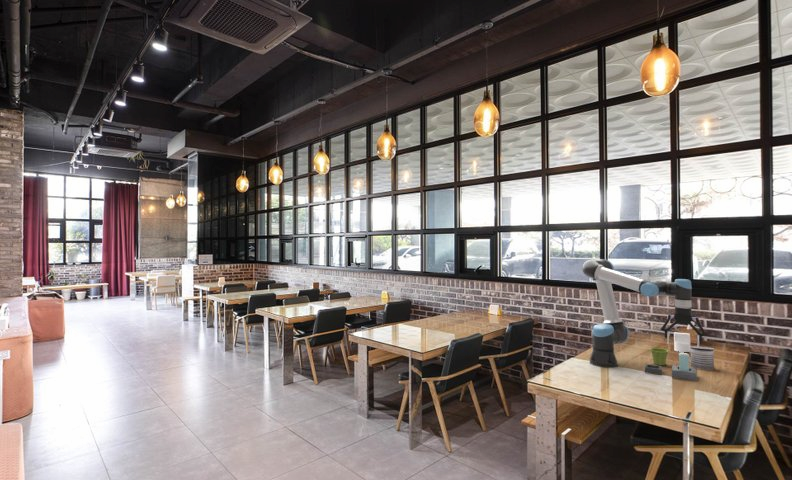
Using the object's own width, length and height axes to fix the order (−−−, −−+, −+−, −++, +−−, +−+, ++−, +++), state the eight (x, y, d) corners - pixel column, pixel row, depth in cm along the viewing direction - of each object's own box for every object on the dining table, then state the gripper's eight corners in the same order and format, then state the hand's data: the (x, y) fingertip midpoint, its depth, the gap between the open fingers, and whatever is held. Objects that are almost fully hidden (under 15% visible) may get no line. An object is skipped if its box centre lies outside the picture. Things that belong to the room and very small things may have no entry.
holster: (644, 372, 230) (644, 367, 230) (646, 369, 237) (645, 363, 237) (660, 374, 226) (660, 369, 226) (661, 371, 232) (661, 366, 232)
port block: (672, 377, 221) (671, 369, 222) (672, 372, 230) (672, 364, 230) (697, 381, 215) (696, 373, 215) (696, 375, 224) (696, 367, 224)
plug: (679, 376, 222) (678, 353, 222) (679, 374, 226) (678, 351, 226) (689, 378, 220) (688, 354, 220) (689, 376, 223) (688, 353, 223)
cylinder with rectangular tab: (689, 350, 278) (689, 332, 278) (690, 353, 270) (690, 335, 270) (674, 348, 282) (673, 331, 283) (674, 351, 275) (674, 333, 275)
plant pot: (671, 366, 241) (671, 352, 241) (654, 366, 243) (653, 351, 243) (664, 362, 250) (664, 348, 250) (647, 361, 252) (647, 347, 252)
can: (689, 367, 239) (688, 347, 239) (691, 363, 248) (691, 343, 248) (713, 371, 232) (713, 350, 232) (715, 366, 240) (715, 346, 240)
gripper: (655, 305, 228) (655, 343, 228) (711, 310, 213) (711, 350, 213) (656, 304, 234) (656, 340, 234) (711, 308, 219) (711, 347, 219)
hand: (682, 345), depth 223 cm, fingers open, 13 cm apart
